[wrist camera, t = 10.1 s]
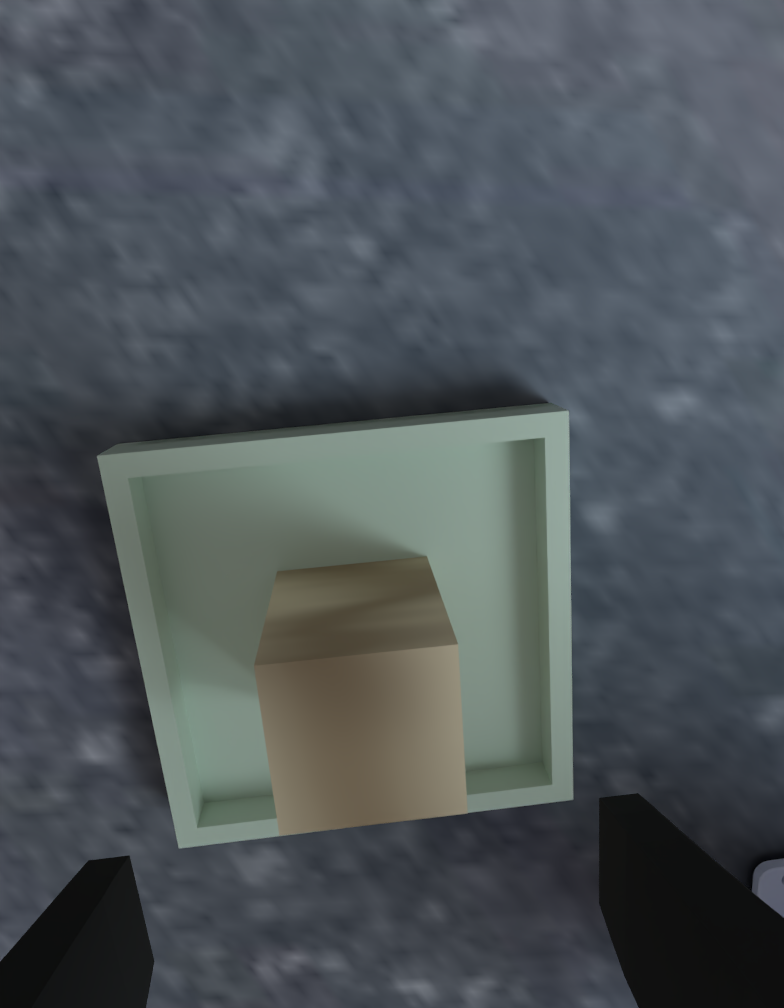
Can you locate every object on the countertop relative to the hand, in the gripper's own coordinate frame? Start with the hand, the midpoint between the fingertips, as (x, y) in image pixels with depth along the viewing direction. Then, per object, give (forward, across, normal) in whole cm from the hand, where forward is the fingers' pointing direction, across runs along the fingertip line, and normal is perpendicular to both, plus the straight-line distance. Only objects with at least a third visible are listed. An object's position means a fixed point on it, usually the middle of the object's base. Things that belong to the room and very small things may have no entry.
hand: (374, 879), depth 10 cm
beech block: (+8, 0, 0) cm, 9 cm away
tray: (+9, 0, 0) cm, 9 cm away
